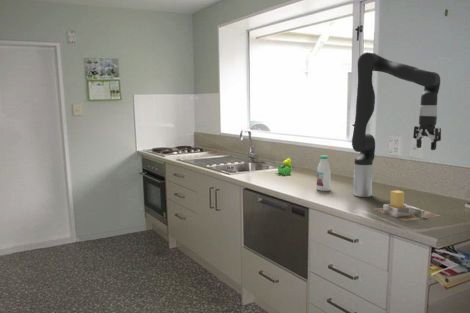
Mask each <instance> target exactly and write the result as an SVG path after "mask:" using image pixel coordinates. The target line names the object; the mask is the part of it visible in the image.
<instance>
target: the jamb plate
mask: <svg viewBox="0 0 470 313" xmlns="http://www.w3.org/2000/svg"><path fill="white" fill-rule="evenodd" d="M373 210H374V211H377V212H379V213H382V214H383V215H387V216H389V217H392V218H395V219H398V220H400V221H402V222H407V221H408V222H409V221H414V220H415V221H417V220H422V219H427V218H429V219H430V218H435V217H441V215H439V214H436V213H434V212H430V211H427V210H426V209H422V208H419V207H416V206H412V205H409V204H407V203H404V207H403V208H394V207H391V206H390V203H388V204H387V203H385V204H383V207H379V208H373Z"/></svg>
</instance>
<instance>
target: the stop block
mask: <svg viewBox="0 0 470 313" xmlns="http://www.w3.org/2000/svg"><path fill="white" fill-rule="evenodd" d="M389 196H390V201H389V204H390V206H391V207H394V208H403V207H404V204H405V191H402V190H398V189H397V190H390V195H389Z"/></svg>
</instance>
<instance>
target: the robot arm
mask: <svg viewBox="0 0 470 313" xmlns="http://www.w3.org/2000/svg"><path fill="white" fill-rule="evenodd" d="M373 72H380V73H384V74H388V75H390V76H393V77H395V78H398V79H401V80H404V81H406V82H411V83H413V84H417V85H418V86H421V87H424V88H423V92H422V93H421V97H420V107H419V115H418V116H419V117H418V125H416V126H413V137H412V138H413V139H415V140H416V148H418V149H420V148H422V145H423V144H422V140H423V138H424V137H426V138H427V137H428V138H429V139H430V141H431V142H430V151H436V150H437V142H440V141H441V140H442V128H441V127H437V128H436V125H437V120H438V119H437V118H438V95H439V93H440V92H439V90H440V88H441V87H440V86H441V76H440V74H439V73H437V72H435V71H428V70H424V69H420V68H418V67H416V66H412V65H408V64H405V63H400V62H397V61H392V60H389V59H387V58H384V57H382V56H380V55H379V54H376V53H374V52H362V53H361V54H360V55H359V57H358V59H357V91H356V102H355V103H356V104H355V117H354V127H353V131H352V137H351V147H352V149H353V150H354V151H355V152H356V153H359V155H358V156H357V157H355V158H354V163H353V164H354V169H353V171H354V174H353V177H352V195H353V196H355V197H361V198H369V197H372V192H373V191H372V190H373V187H372V186H373V185H372V184H373V163H374V160H375V152H376V139H375V138H374V135H372V134H370V133H366V132H367V131H366V130H367V126H368V124H369V121H370V120H371V118H372V116H373V113H374V111H375V104H376V94H375V89H374V86H373Z"/></svg>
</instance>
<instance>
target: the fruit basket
mask: <svg viewBox="0 0 470 313" xmlns="http://www.w3.org/2000/svg"><path fill="white" fill-rule="evenodd" d="M282 163H283V164H281V165H276V168H277V172H278V174H280V175H282V176H290V175H291V173H292V170H293V167H292V166H291V165H292V160H291V157H287V158H286V159H285V160H283V162H282Z"/></svg>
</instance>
